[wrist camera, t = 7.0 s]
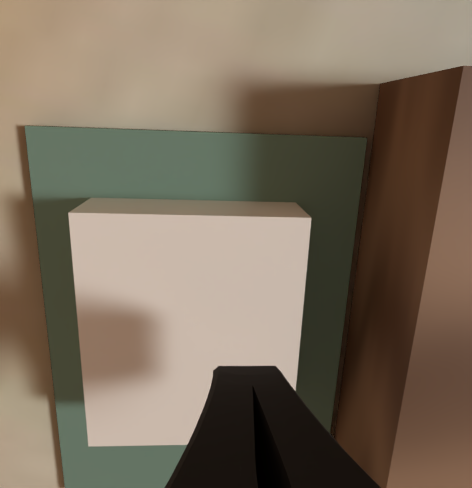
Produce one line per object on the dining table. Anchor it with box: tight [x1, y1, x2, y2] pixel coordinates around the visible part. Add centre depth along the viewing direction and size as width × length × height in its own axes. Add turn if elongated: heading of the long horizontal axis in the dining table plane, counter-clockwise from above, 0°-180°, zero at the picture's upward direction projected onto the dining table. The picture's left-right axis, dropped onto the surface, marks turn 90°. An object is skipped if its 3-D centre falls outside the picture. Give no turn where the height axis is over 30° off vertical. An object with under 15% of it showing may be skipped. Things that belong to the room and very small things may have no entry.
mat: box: [25, 126, 367, 488], centre depth 13 cm, size 13×10×1 cm
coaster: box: [68, 198, 311, 447], centre depth 12 cm, size 7×6×2 cm
